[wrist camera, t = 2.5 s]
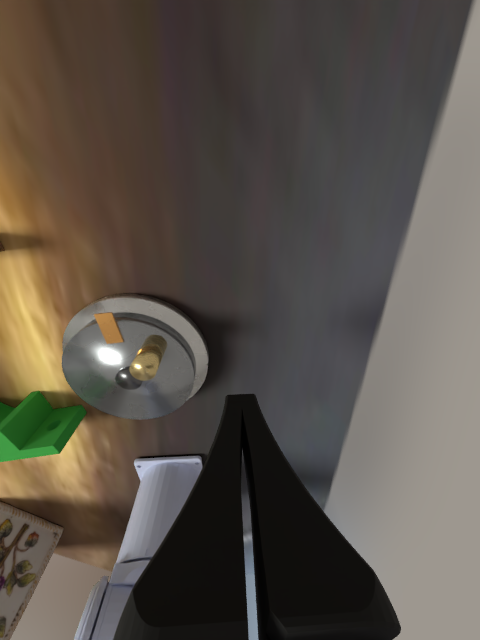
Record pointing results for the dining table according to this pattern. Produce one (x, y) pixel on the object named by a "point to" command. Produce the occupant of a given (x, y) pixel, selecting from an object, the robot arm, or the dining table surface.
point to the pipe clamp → (36, 428)
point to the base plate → (152, 309)
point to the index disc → (130, 365)
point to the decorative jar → (22, 561)
